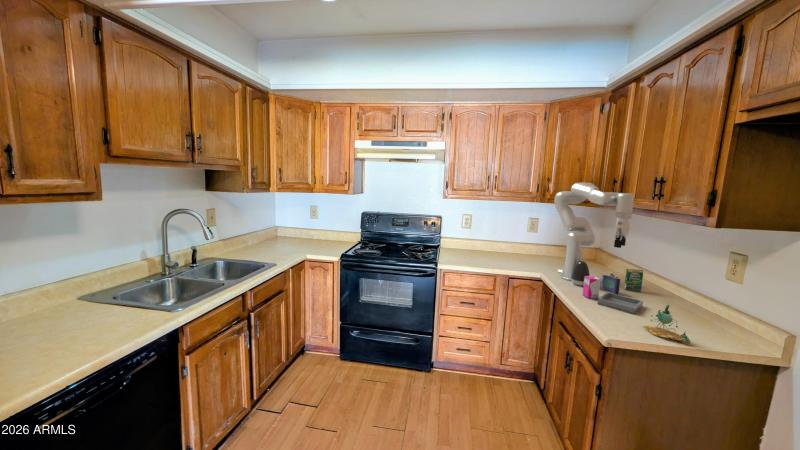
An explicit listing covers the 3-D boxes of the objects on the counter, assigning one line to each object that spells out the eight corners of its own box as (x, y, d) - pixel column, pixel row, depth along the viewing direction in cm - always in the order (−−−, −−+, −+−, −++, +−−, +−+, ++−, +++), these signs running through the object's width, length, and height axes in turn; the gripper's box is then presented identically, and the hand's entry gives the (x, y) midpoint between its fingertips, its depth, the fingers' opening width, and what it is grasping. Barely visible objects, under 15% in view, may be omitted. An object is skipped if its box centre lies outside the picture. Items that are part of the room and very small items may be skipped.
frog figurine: (679, 348, 120) (680, 311, 120) (634, 331, 138) (635, 298, 137) (698, 346, 123) (699, 309, 122) (651, 329, 140) (652, 297, 140)
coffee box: (624, 290, 186) (627, 269, 184) (623, 288, 189) (626, 267, 187) (641, 292, 183) (644, 271, 181) (639, 291, 185) (642, 269, 184)
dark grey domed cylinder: (586, 282, 197) (588, 259, 195) (591, 288, 188) (594, 264, 185) (568, 281, 200) (571, 258, 198) (572, 286, 190) (575, 262, 188)
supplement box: (592, 295, 175) (594, 276, 174) (598, 299, 169) (601, 279, 168) (581, 294, 176) (584, 275, 174) (587, 298, 170) (590, 278, 168)
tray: (597, 304, 163) (598, 298, 162) (607, 297, 173) (607, 292, 173) (634, 314, 151) (635, 308, 150) (642, 306, 161) (643, 301, 161)
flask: (599, 289, 186) (602, 270, 185) (602, 288, 188) (605, 270, 186) (616, 295, 177) (619, 275, 176) (620, 294, 179) (622, 275, 177)
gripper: (628, 217, 161) (624, 249, 163) (634, 215, 173) (631, 245, 175) (611, 215, 166) (607, 247, 168) (618, 214, 178) (615, 243, 180)
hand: (619, 246), depth 171 cm, fingers open, 9 cm apart
